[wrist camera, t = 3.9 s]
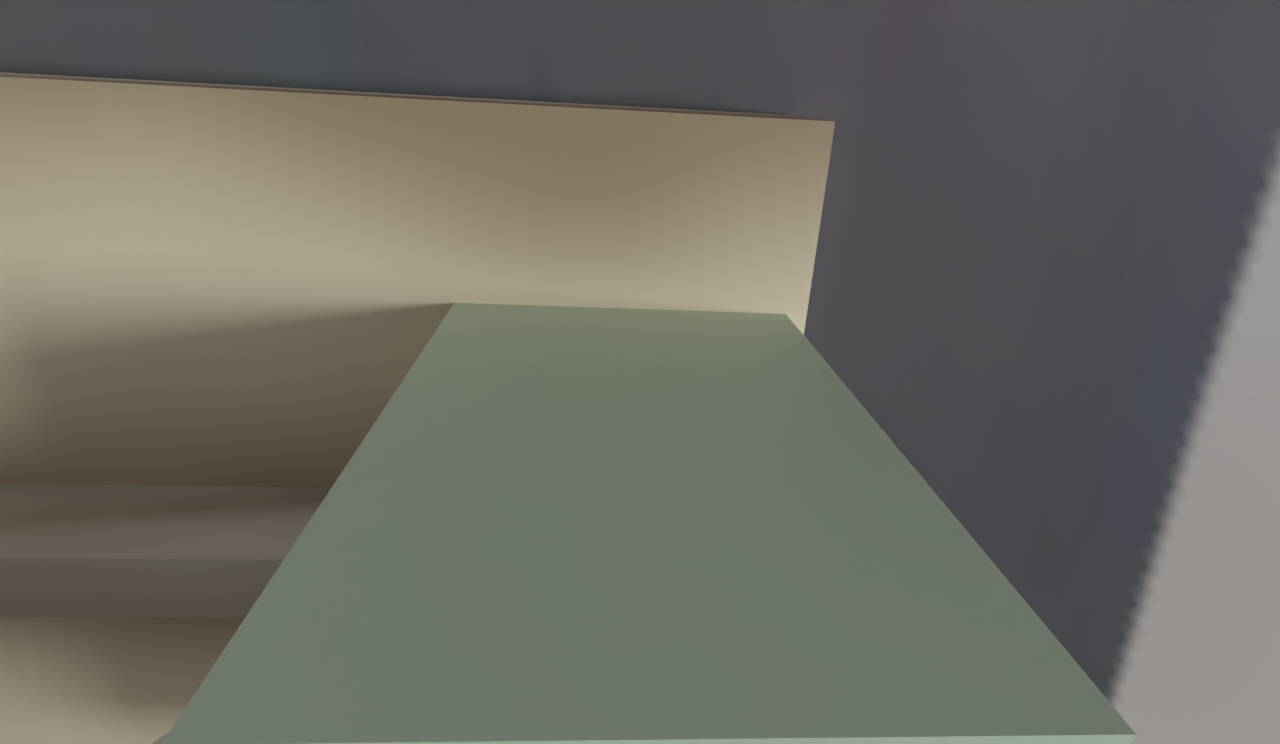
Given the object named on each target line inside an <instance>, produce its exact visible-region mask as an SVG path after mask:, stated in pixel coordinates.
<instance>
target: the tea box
mask: <svg viewBox="0 0 1280 744" xmlns="http://www.w3.org/2000/svg"><path fill="white" fill-rule="evenodd" d="M1135 736H1136V734H1135V732H1134V731H1133V730H1132V729H1131V728H1130V726H1129V725H1128V724H1127V723H1126V722H1125V720H1124V719H1123V718H1122V717H1121V716H1120V714H1119V713H1118V712H1117V711H1116V710H1115V708H1114V707H1113V706H1112V705H1111V704H1110V702H1109V701H1108V700H1107V699H1106V698H1105V696H1104V695H1103V694H1102V693H1101V692H1100V690H1099V689H1098V688H1097V687H1096V686H1095V684H1094V683H1093V682H1092V681H1091V680H1090V678H1089V677H1088V676H1087V675H1086V674H1085V672H1084V671H1083V670H1082V669H1081V668H1080V666H1079V665H1078V664H1077V663H1076V662H1075V660H1074V659H1073V658H1072V657H1071V656H1070V654H1069V653H1068V652H1067V651H1066V650H1065V648H1064V647H1063V646H1062V645H1061V644H1060V642H1059V641H1058V640H1057V639H1056V638H1055V636H1054V635H1053V634H1052V633H1051V632H1050V630H1049V629H1048V628H1047V627H1046V626H1045V624H1044V623H1043V622H1042V621H1041V620H1040V618H1039V617H1038V616H1037V615H1036V614H1035V612H1034V611H1033V610H1032V609H1031V608H1030V606H1029V605H1028V604H1027V603H1026V602H1025V600H1024V599H1023V598H1022V597H1021V596H1020V594H1019V593H1018V592H1017V591H1016V590H1015V588H1014V587H1013V586H1012V585H1011V584H1010V582H1009V581H1008V580H1007V579H1006V578H1005V576H1004V575H1003V574H1002V573H1001V572H1000V570H999V569H998V568H997V567H996V566H995V564H994V563H993V562H992V561H991V560H990V558H989V557H988V556H987V555H986V554H985V552H984V551H983V550H982V549H981V548H980V546H979V545H978V544H977V543H976V542H975V540H974V539H973V538H972V537H971V536H970V534H969V533H968V532H967V531H966V530H965V528H964V527H963V526H962V525H961V524H960V522H959V521H958V520H957V519H956V518H955V516H954V515H953V514H952V513H951V512H950V510H949V509H948V508H947V507H946V506H945V504H944V503H943V502H942V501H941V500H940V498H939V497H938V496H937V495H936V494H935V492H934V491H933V490H932V489H931V488H930V486H929V485H928V484H927V483H926V482H925V480H924V479H923V478H922V477H921V476H920V474H919V473H918V472H917V471H916V470H915V468H914V467H913V466H912V465H911V464H910V462H909V461H908V460H907V459H906V458H905V456H904V455H903V454H902V453H901V452H900V450H899V449H898V448H897V447H896V446H895V444H894V443H893V442H892V441H891V440H890V438H889V437H888V436H887V435H886V434H885V432H884V431H883V430H882V429H881V428H880V426H879V425H878V424H877V423H876V422H875V420H874V419H873V418H872V417H871V416H870V414H869V413H868V412H867V411H866V410H865V408H864V407H863V406H862V405H861V404H860V402H859V401H858V400H857V399H856V398H855V396H854V395H853V394H852V393H851V392H850V390H849V389H848V388H847V387H846V386H845V384H844V383H843V382H842V381H841V380H840V378H839V377H838V376H837V375H836V374H835V372H834V371H833V370H832V369H831V368H830V366H829V365H828V364H827V363H826V362H825V360H824V359H823V358H822V357H821V355H820V354H819V353H818V352H817V351H816V349H815V348H814V347H813V346H812V345H811V343H810V342H809V341H808V340H807V339H806V337H805V336H804V335H803V334H802V333H801V331H800V330H799V329H798V328H797V327H796V325H795V324H794V323H793V322H792V321H791V319H790V318H789V317H788V316H787V315H786V314H768V313H739V312H709V311H680V310H651V309H622V308H593V307H563V306H534V305H505V304H476V303H454V304H453V305H452V307H451V308H450V310H449V311H448V313H447V314H446V316H445V318H444V319H443V321H442V322H441V324H440V325H439V327H438V328H437V330H436V331H435V333H434V334H433V336H432V337H431V339H430V340H429V342H428V343H427V345H426V346H425V348H424V349H423V351H422V352H421V354H420V355H419V357H418V358H417V360H416V361H415V363H414V364H413V366H412V367H411V369H410V370H409V372H408V373H407V375H406V376H405V378H404V379H403V381H402V382H401V384H400V385H399V387H398V388H397V390H396V391H395V393H394V394H393V396H392V397H391V399H390V400H389V402H388V403H387V405H386V406H385V408H384V409H383V411H382V412H381V414H380V415H379V417H378V418H377V420H376V421H375V423H374V424H373V426H372V428H371V429H370V431H369V432H368V434H367V435H366V437H365V438H364V440H363V441H362V443H361V444H360V446H359V447H358V449H357V450H356V452H355V453H354V455H353V456H352V458H351V459H350V461H349V462H348V464H347V465H346V467H345V468H344V470H343V471H342V473H341V474H340V476H339V477H338V479H337V480H336V482H335V483H334V485H333V486H332V488H331V489H330V491H329V492H328V494H327V495H326V497H325V498H324V500H323V501H322V503H321V504H320V506H319V507H318V509H317V510H316V512H315V513H314V515H313V516H312V518H311V519H310V521H309V522H308V524H307V525H306V527H305V528H304V530H303V531H302V533H301V534H300V536H299V538H298V539H297V541H296V542H295V544H294V545H293V547H292V548H291V550H290V551H289V553H288V554H287V556H286V557H285V559H284V560H283V562H282V563H281V565H280V566H279V568H278V569H277V571H276V572H275V574H274V575H273V577H272V578H271V580H270V581H269V583H268V584H267V586H266V587H265V589H264V590H263V592H262V593H261V595H260V596H259V598H258V599H257V601H256V602H255V604H254V605H253V607H252V608H251V610H250V611H249V613H248V614H247V616H246V617H245V619H244V620H243V622H242V623H241V625H240V626H239V628H238V629H237V631H236V632H235V634H234V635H233V637H232V638H231V640H230V641H229V643H228V644H227V646H226V647H225V649H224V651H223V652H222V654H221V655H220V657H219V658H218V660H217V661H216V663H215V664H214V666H213V667H212V669H211V670H210V672H209V673H208V675H207V676H206V678H205V679H204V681H203V682H202V684H201V685H200V687H199V688H198V690H197V691H196V693H195V694H194V696H193V697H192V699H191V700H190V702H189V703H188V705H187V706H186V708H185V709H184V711H183V712H182V714H181V715H180V717H179V718H178V720H177V721H176V723H175V724H174V726H173V727H172V729H171V730H170V732H169V733H168V735H167V736H166V738H165V739H164V741H163V742H162V744H1132V743H1133V741H1134V739H1135Z"/></svg>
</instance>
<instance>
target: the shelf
mask: <svg viewBox="0 0 1280 744" xmlns="http://www.w3.org/2000/svg"><path fill="white" fill-rule="evenodd" d="M834 126H835V121H828V120H821V119H814V118H807V117H800V116H793V115H781V114H762V113H744V112H725V111H707V110H688V109H670V108H652V107H633V106H615V105H596V104H578V103H559V102H541V101H522V100H504V99H485V98H467V97H449V96H430V95H412V94H393V93H375V92H356V91H338V90H319V89H301V88H282V87H264V86H246V85H227V84H209V83H190V82H172V81H153V80H135V79H116V78H98V77H79V76H61V75H43V74H24V73H6V72H0V744H152V743H153V742H155V741H156V740H158V739H159V738H161V737H162V736H164V735H165V734H167V733H168V732H170V730H171V729H172V727H173V726H174V724H175V723H176V721H177V720H178V718H179V717H180V715H181V714H182V712H183V711H184V709H185V708H186V706H187V705H188V703H189V702H190V700H191V699H192V697H193V696H194V694H195V693H196V691H197V690H198V688H199V687H200V685H201V684H202V682H203V681H204V679H205V678H206V676H207V675H208V673H209V672H210V670H211V669H212V667H213V666H214V664H215V663H216V661H217V660H218V658H219V657H220V655H221V654H222V652H223V651H224V649H225V647H226V646H227V644H228V643H229V641H230V640H231V638H232V637H233V635H234V634H235V632H236V631H237V629H238V628H239V626H240V625H241V623H242V622H243V620H244V619H245V617H246V616H247V614H248V613H249V611H250V610H251V608H252V607H253V605H254V604H255V602H256V601H257V599H258V598H259V596H260V595H261V593H262V592H263V590H264V589H265V587H266V586H267V584H268V583H269V581H270V580H271V578H272V577H273V575H274V574H275V572H276V571H277V569H278V568H279V566H280V565H281V563H282V562H283V560H284V559H285V557H286V556H287V554H288V553H289V551H290V550H291V548H292V547H293V545H294V544H295V542H296V541H297V539H298V538H299V536H300V534H301V533H302V531H303V530H304V528H305V527H306V525H307V524H308V522H309V521H310V519H311V518H312V516H313V515H314V513H315V512H316V510H317V509H318V507H319V506H320V504H321V503H322V501H323V500H324V498H325V497H326V495H327V494H328V492H329V491H330V489H331V488H332V486H333V485H334V483H335V482H336V480H337V479H338V477H339V476H340V474H341V473H342V471H343V470H344V468H345V467H346V465H347V464H348V462H349V461H350V459H351V458H352V456H353V455H354V453H355V452H356V450H357V449H358V447H359V446H360V444H361V443H362V441H363V440H364V438H365V437H366V435H367V434H368V432H369V431H370V429H371V428H372V426H373V424H374V423H375V421H376V420H377V418H378V417H379V415H380V414H381V412H382V411H383V409H384V408H385V406H386V405H387V403H388V402H389V400H390V399H391V397H392V396H393V394H394V393H395V391H396V390H397V388H398V387H399V385H400V384H401V382H402V381H403V379H404V378H405V376H406V375H407V373H408V372H409V370H410V369H411V367H412V366H413V364H414V363H415V361H416V360H417V358H418V357H419V355H420V354H421V352H422V351H423V349H424V348H425V346H426V345H427V343H428V342H429V340H430V339H431V337H432V336H433V334H434V333H435V331H436V330H437V328H438V327H439V325H440V324H441V322H442V321H443V319H444V318H445V316H446V314H447V313H448V311H449V310H450V308H451V307H452V305H453V304H454V303H476V304H505V305H534V306H563V307H593V308H622V309H651V310H680V311H709V312H739V313H768V314H786V315H787V316H788V317H789V318H790V319H791V321H792V322H793V323H794V324H795V325H796V327H797V328H798V329H799V330H800V331H801V333H802V334H803V335H804V329H805V322H806V315H807V309H808V302H809V295H810V288H811V281H812V275H813V268H814V261H815V254H816V248H817V241H818V234H819V227H820V221H821V214H822V207H823V200H824V194H825V187H826V180H827V173H828V166H829V160H830V153H831V146H832V139H833V133H834Z"/></svg>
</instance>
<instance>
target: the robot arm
mask: <svg viewBox="0 0 1280 744" xmlns="http://www.w3.org/2000/svg"><path fill="white" fill-rule="evenodd" d="M168 733H169V732H168ZM168 733H167V734H165V735H164V736H162V737H161V738H159V739H158V740H156V741H155V742H153V743H152V744H162V742H163V741H164V739H165V738H166V736H167V735H168Z"/></svg>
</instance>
